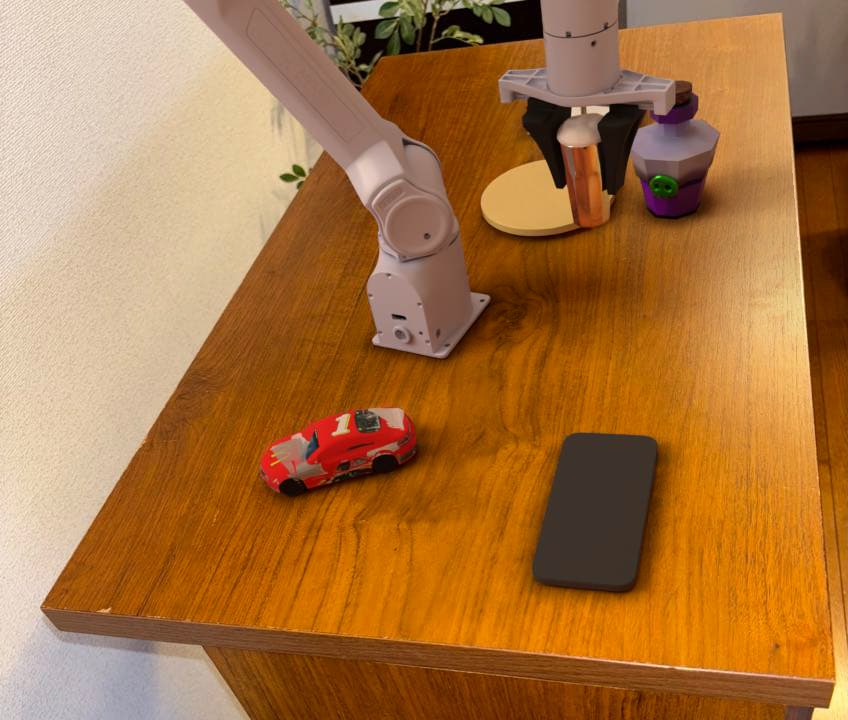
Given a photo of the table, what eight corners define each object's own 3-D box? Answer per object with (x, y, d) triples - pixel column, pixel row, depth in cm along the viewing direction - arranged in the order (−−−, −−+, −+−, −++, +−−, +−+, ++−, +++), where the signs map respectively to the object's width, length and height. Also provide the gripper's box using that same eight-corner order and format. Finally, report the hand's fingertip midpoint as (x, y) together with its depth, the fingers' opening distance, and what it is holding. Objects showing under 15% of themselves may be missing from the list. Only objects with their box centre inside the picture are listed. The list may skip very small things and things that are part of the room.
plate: (583, 249, 96) (582, 236, 95) (459, 232, 103) (457, 220, 102) (636, 176, 104) (636, 164, 103) (517, 164, 110) (516, 152, 109)
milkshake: (617, 197, 88) (610, 86, 81) (618, 229, 85) (611, 116, 78) (566, 203, 89) (555, 95, 82) (565, 235, 86) (553, 124, 79)
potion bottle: (633, 233, 97) (630, 114, 88) (626, 188, 102) (622, 72, 94) (723, 221, 95) (729, 99, 86) (711, 176, 101) (716, 58, 92)
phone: (527, 577, 69) (565, 431, 78) (528, 584, 70) (565, 438, 79) (634, 587, 67) (660, 435, 76) (634, 595, 67) (660, 443, 76)
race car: (266, 505, 80) (251, 470, 77) (264, 461, 84) (249, 426, 81) (423, 467, 80) (413, 430, 77) (414, 424, 83) (404, 388, 80)
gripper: (690, 2, 74) (687, 170, 84) (518, -2, 80) (535, 155, 90) (655, 43, 70) (657, 214, 80) (478, 36, 77) (500, 195, 87)
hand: (590, 186), depth 85 cm, fingers closed on milkshake, 4 cm apart
